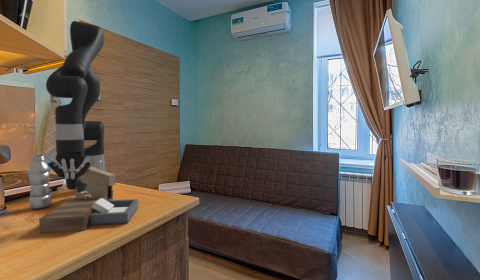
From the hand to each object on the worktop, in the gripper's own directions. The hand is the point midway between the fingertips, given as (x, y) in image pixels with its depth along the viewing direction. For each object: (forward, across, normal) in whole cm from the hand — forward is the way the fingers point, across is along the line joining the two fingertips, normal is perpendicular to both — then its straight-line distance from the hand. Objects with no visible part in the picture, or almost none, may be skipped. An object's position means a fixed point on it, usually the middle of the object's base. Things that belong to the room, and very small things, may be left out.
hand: (72, 189), depth 77 cm
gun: (+11, +1, -18) cm, 21 cm away
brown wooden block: (+10, -2, 0) cm, 11 cm away
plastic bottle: (+11, +18, -14) cm, 25 cm away
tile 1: (+7, -9, +1) cm, 11 cm away
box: (+10, -13, -1) cm, 17 cm away
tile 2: (+8, -14, 0) cm, 16 cm away
